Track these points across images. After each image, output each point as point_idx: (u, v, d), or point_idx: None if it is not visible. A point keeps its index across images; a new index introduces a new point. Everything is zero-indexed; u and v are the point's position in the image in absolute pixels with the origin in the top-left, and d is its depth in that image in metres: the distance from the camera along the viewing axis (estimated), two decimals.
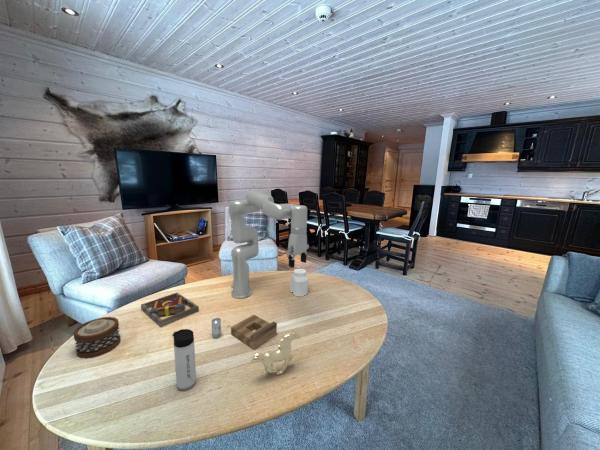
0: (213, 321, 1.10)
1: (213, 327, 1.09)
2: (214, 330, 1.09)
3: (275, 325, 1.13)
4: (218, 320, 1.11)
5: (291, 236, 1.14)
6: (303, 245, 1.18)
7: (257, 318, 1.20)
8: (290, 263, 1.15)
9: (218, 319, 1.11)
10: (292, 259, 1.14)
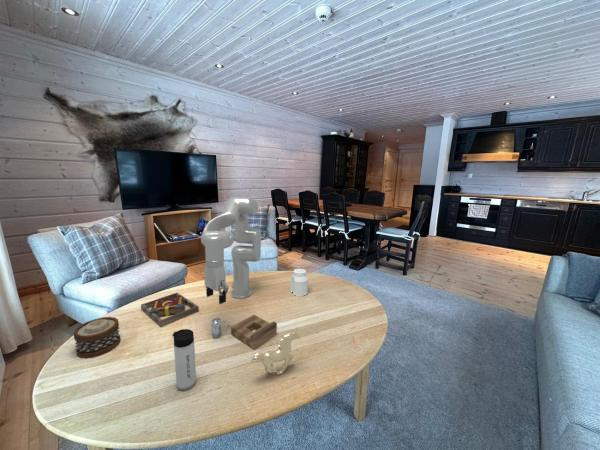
0: (213, 321, 1.10)
1: (213, 327, 1.09)
2: (214, 330, 1.09)
3: (275, 325, 1.13)
4: (218, 320, 1.11)
5: (219, 270, 1.03)
6: None
7: (257, 318, 1.20)
8: (224, 298, 1.05)
9: (218, 319, 1.11)
10: (225, 293, 1.05)
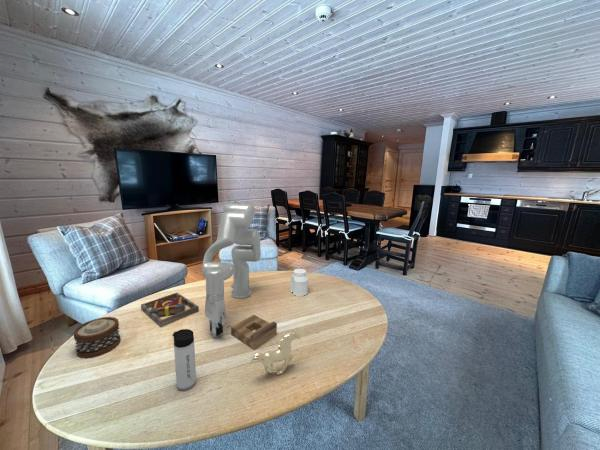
0: None
1: (213, 327, 1.09)
2: (214, 330, 1.09)
3: (275, 325, 1.13)
4: None
5: (219, 303, 1.05)
6: None
7: (257, 318, 1.20)
8: (220, 330, 1.09)
9: None
10: (222, 325, 1.10)
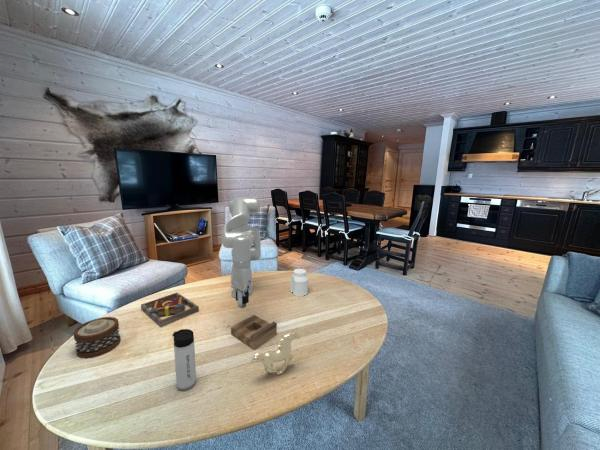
0: (239, 290, 1.08)
1: (239, 296, 1.08)
2: (240, 299, 1.08)
3: (275, 325, 1.13)
4: None
5: (246, 271, 1.04)
6: None
7: (257, 318, 1.20)
8: (246, 299, 1.08)
9: None
10: (248, 294, 1.08)
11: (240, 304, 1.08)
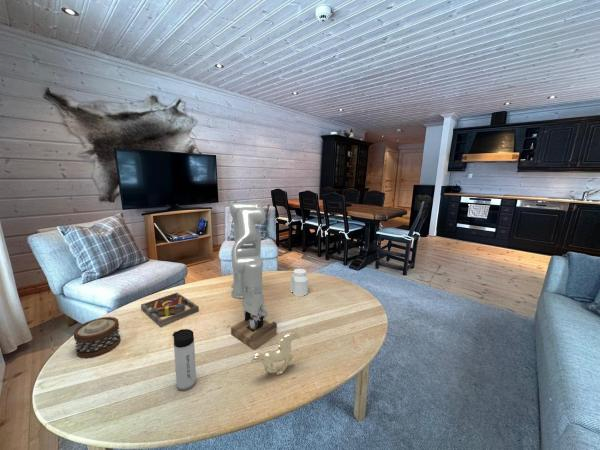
0: (251, 320, 1.12)
1: (251, 326, 1.11)
2: (252, 329, 1.11)
3: (275, 325, 1.13)
4: (256, 319, 1.13)
5: (259, 296, 1.07)
6: None
7: None
8: (261, 323, 1.09)
9: (255, 318, 1.13)
10: None
11: None
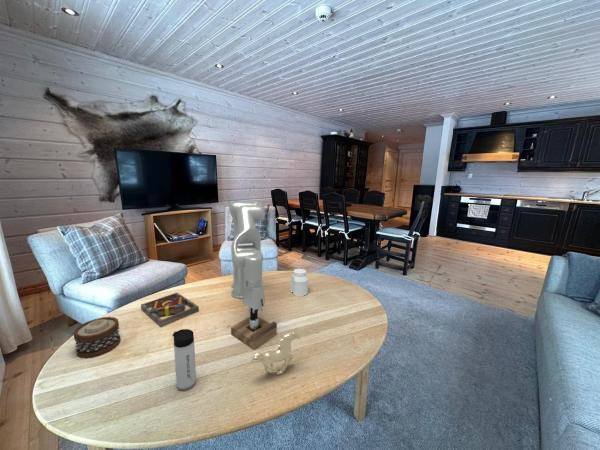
0: (251, 320, 1.12)
1: (251, 326, 1.11)
2: (252, 329, 1.11)
3: (275, 325, 1.13)
4: (256, 319, 1.13)
5: (259, 290, 1.06)
6: None
7: None
8: (256, 316, 1.11)
9: None
10: (257, 310, 1.12)
11: None
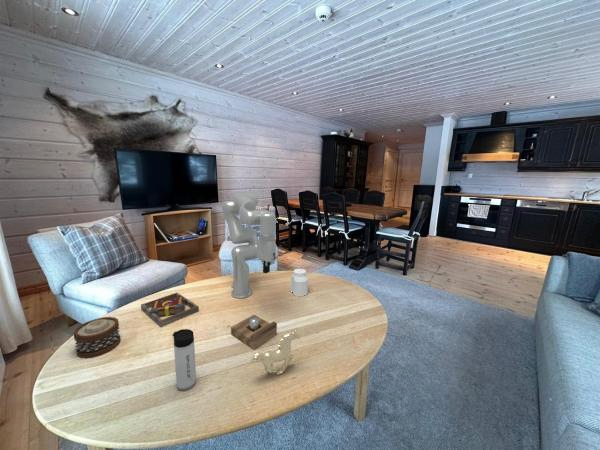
0: (251, 320, 1.12)
1: (251, 326, 1.11)
2: (252, 329, 1.11)
3: (275, 325, 1.13)
4: (256, 319, 1.13)
5: (272, 244, 1.17)
6: None
7: None
8: (268, 269, 1.22)
9: (255, 318, 1.13)
10: (269, 264, 1.23)
11: None
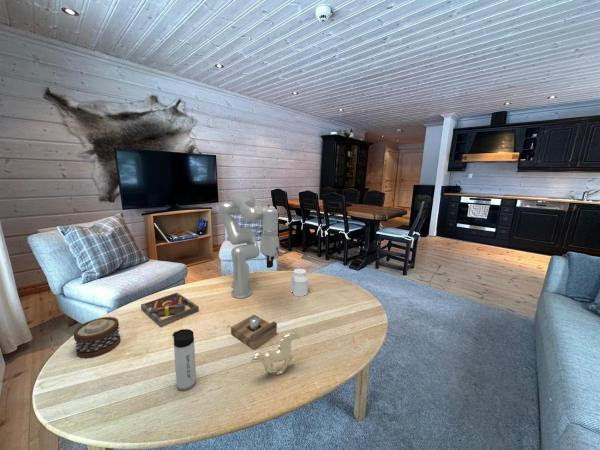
0: (251, 320, 1.12)
1: (251, 326, 1.11)
2: (252, 329, 1.11)
3: (275, 325, 1.13)
4: (256, 319, 1.13)
5: (275, 238, 1.20)
6: None
7: None
8: (272, 263, 1.25)
9: (255, 318, 1.13)
10: None
11: None
